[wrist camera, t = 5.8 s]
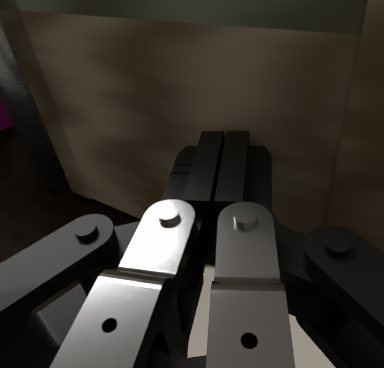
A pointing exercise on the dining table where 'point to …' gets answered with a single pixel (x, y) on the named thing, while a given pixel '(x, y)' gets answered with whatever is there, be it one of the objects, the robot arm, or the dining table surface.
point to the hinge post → (28, 118)
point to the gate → (213, 96)
